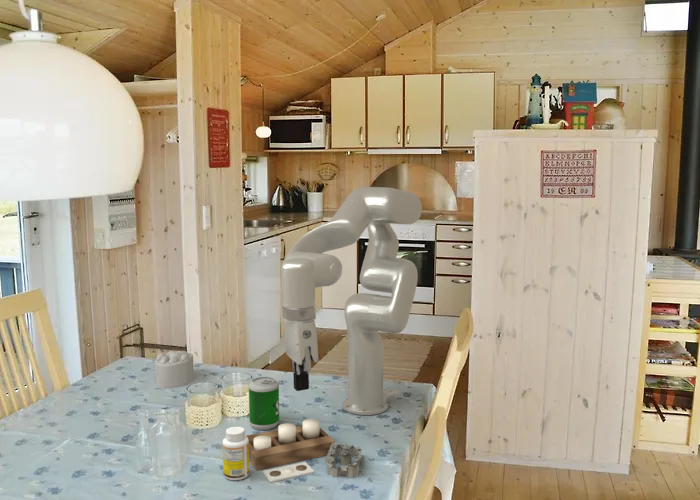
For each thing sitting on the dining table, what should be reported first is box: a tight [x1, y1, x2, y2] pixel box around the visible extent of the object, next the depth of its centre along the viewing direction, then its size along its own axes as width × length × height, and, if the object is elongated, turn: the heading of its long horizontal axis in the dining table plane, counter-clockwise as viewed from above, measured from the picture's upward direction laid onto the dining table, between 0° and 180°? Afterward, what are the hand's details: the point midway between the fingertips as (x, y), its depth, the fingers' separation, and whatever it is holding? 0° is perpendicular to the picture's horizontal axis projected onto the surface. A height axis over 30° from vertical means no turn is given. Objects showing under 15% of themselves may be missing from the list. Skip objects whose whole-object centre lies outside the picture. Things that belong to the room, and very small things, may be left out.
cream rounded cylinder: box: [254, 436, 271, 450], centre depth 149 cm, size 4×4×4 cm
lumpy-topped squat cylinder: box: [154, 350, 195, 389], centre depth 200 cm, size 10×13×9 cm
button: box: [301, 418, 320, 440], centre depth 154 cm, size 4×4×4 cm
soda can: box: [248, 376, 280, 431], centre depth 166 cm, size 8×8×12 cm
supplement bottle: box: [221, 426, 250, 481], centre depth 140 cm, size 6×6×10 cm
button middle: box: [277, 422, 297, 445], centre depth 152 cm, size 4×4×4 cm
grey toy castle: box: [325, 442, 363, 479], centre depth 144 cm, size 11×8×4 cm
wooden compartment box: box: [245, 424, 336, 471], centre depth 152 cm, size 19×12×3 cm, turn 116°
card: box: [262, 461, 315, 483], centre depth 142 cm, size 10×5×1 cm, turn 116°
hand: (301, 388), depth 152 cm, fingers closed
